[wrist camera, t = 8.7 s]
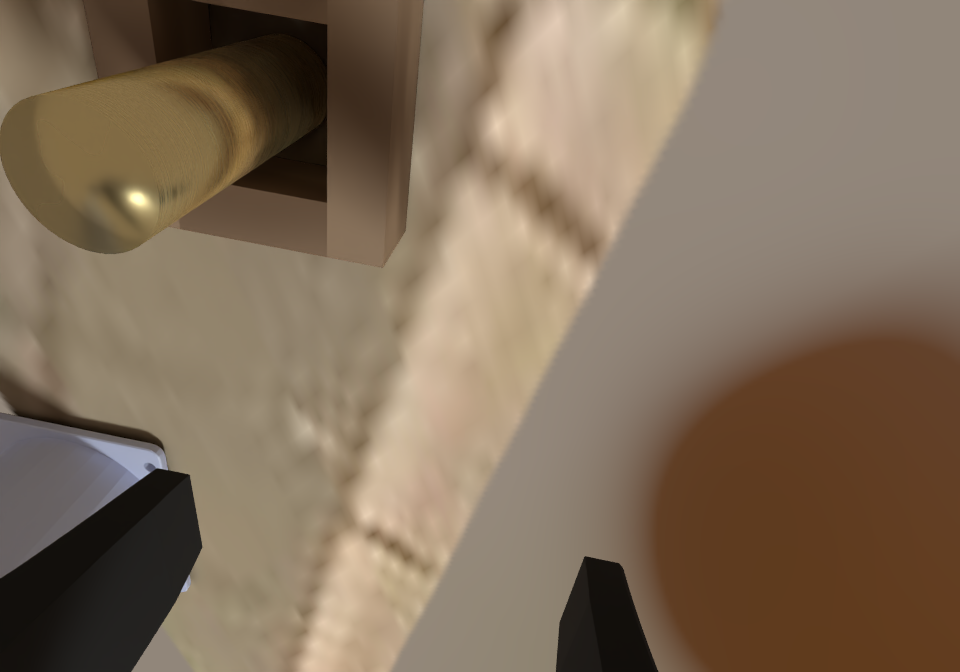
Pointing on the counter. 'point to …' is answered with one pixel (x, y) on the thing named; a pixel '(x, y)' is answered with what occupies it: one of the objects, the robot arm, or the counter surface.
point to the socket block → (350, 122)
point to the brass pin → (158, 138)
